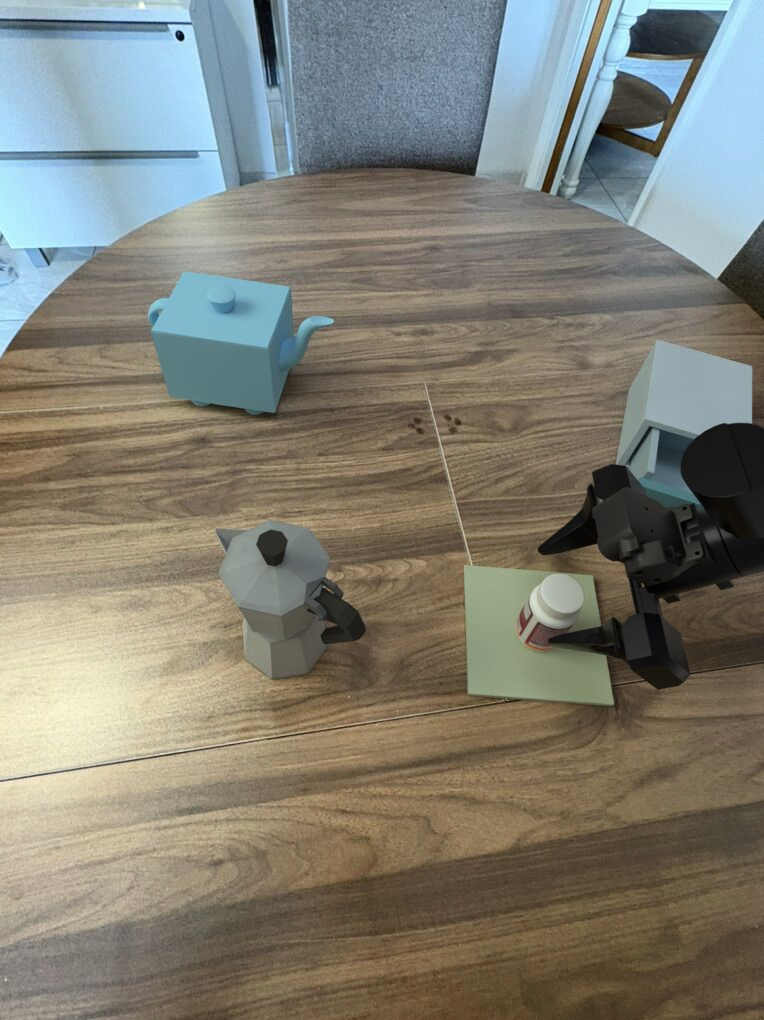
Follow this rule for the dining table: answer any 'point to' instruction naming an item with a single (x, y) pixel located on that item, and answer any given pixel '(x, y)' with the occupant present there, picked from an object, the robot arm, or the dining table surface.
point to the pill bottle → (549, 611)
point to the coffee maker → (284, 597)
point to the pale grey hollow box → (684, 395)
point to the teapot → (228, 341)
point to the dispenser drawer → (662, 467)
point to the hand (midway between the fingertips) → (544, 595)
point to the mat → (507, 662)
